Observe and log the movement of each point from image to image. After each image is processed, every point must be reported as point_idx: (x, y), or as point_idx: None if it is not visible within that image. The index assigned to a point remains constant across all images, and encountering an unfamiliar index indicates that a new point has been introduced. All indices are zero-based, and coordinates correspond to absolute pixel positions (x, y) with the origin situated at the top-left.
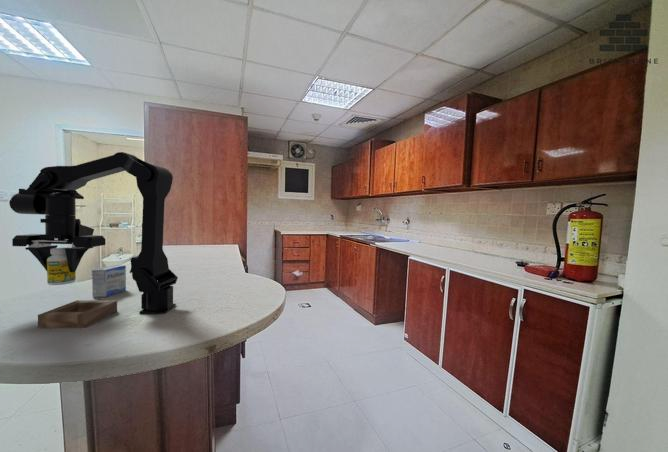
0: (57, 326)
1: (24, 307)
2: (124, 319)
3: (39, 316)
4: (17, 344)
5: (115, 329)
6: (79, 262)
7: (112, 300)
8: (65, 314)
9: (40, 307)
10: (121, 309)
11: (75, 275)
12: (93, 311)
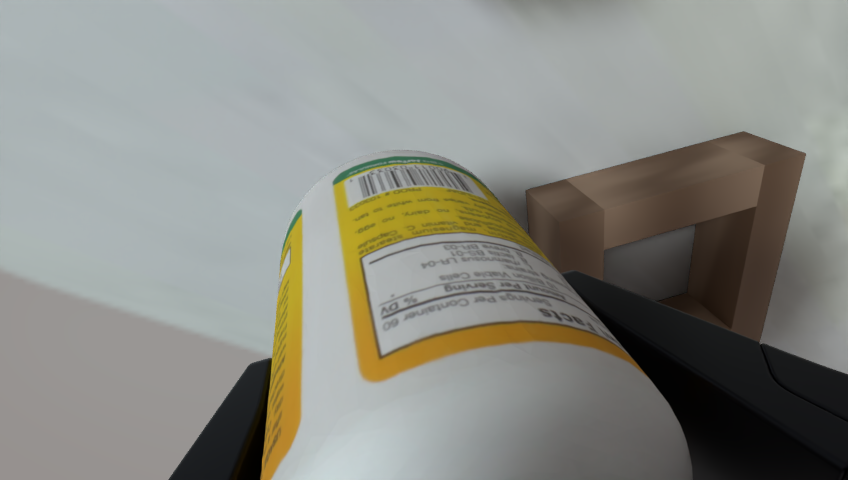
0: None
1: (85, 217)
2: (821, 210)
3: None
4: None
5: (824, 290)
6: (702, 321)
7: (779, 162)
8: None
9: (204, 189)
10: (751, 96)
11: (495, 198)
12: (766, 310)
